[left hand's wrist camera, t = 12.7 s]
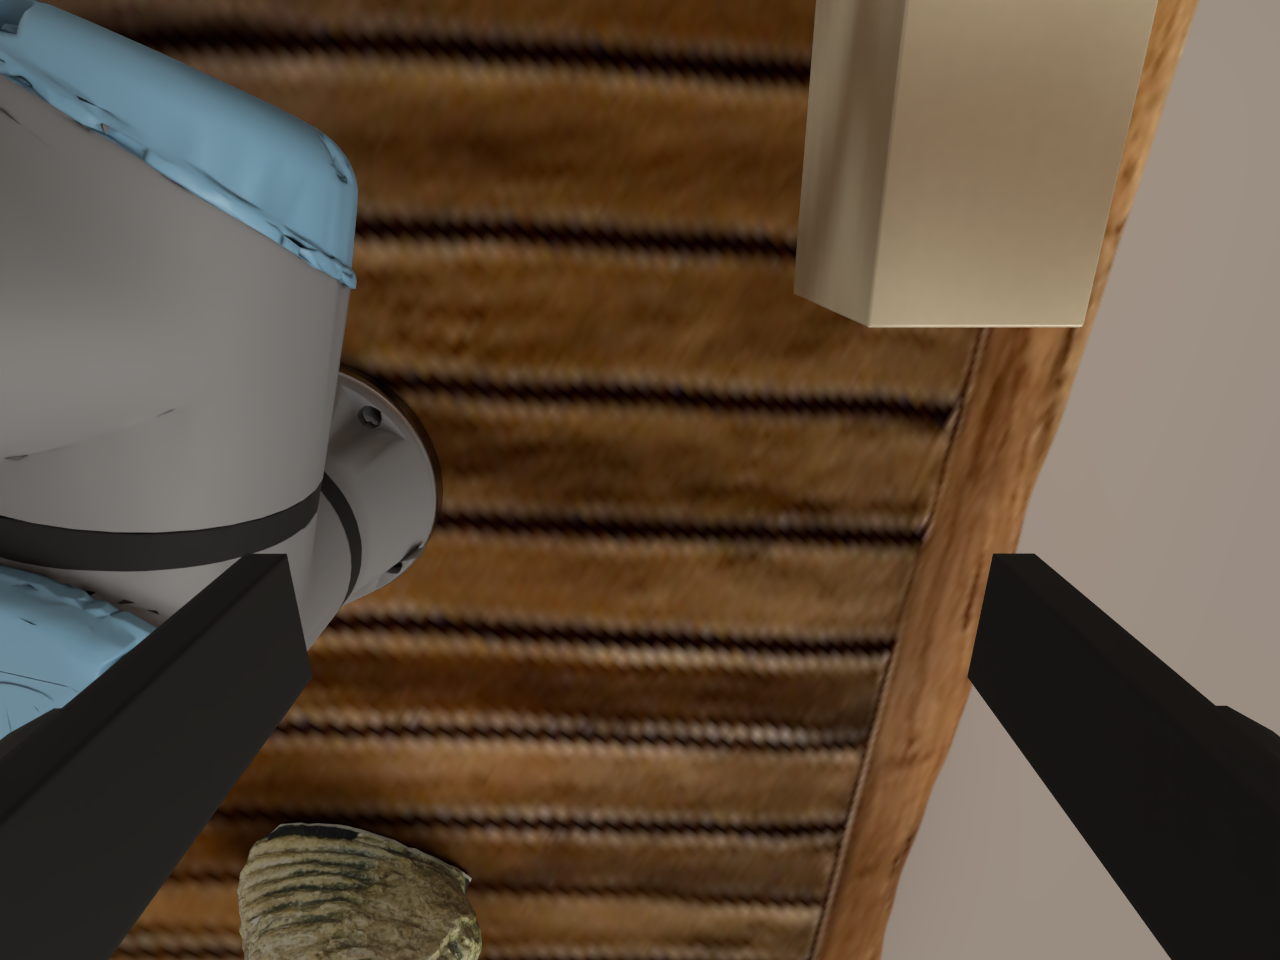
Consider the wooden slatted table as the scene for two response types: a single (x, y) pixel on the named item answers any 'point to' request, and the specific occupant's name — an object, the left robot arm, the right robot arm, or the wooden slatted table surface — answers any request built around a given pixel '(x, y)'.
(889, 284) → the ash bar
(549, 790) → the wooden slatted table surface
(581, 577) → the wooden slatted table surface
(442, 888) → the fossil
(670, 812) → the wooden slatted table surface
